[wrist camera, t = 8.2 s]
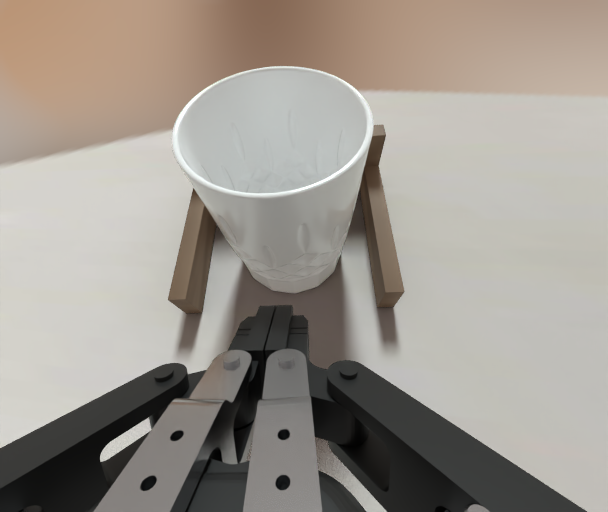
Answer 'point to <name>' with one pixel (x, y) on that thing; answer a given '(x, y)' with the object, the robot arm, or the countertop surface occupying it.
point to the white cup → (278, 168)
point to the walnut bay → (381, 246)
